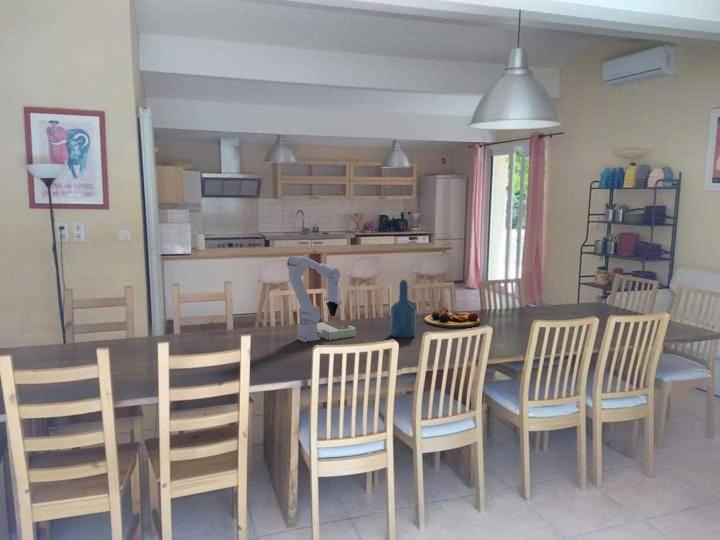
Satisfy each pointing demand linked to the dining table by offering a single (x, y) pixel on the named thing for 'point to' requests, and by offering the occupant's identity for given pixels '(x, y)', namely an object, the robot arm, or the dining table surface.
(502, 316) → the dining table surface
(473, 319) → the wooden plate with food
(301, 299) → the robot arm
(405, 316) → the wine bottle
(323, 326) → the baseboard molding
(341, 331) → the end cap
